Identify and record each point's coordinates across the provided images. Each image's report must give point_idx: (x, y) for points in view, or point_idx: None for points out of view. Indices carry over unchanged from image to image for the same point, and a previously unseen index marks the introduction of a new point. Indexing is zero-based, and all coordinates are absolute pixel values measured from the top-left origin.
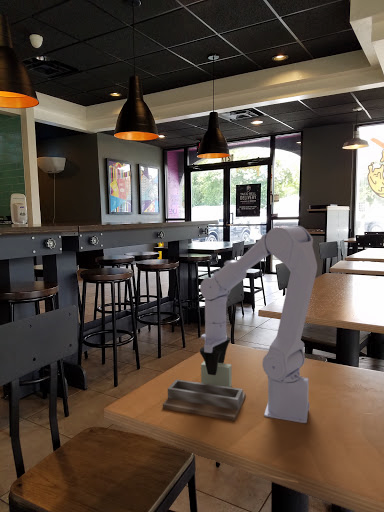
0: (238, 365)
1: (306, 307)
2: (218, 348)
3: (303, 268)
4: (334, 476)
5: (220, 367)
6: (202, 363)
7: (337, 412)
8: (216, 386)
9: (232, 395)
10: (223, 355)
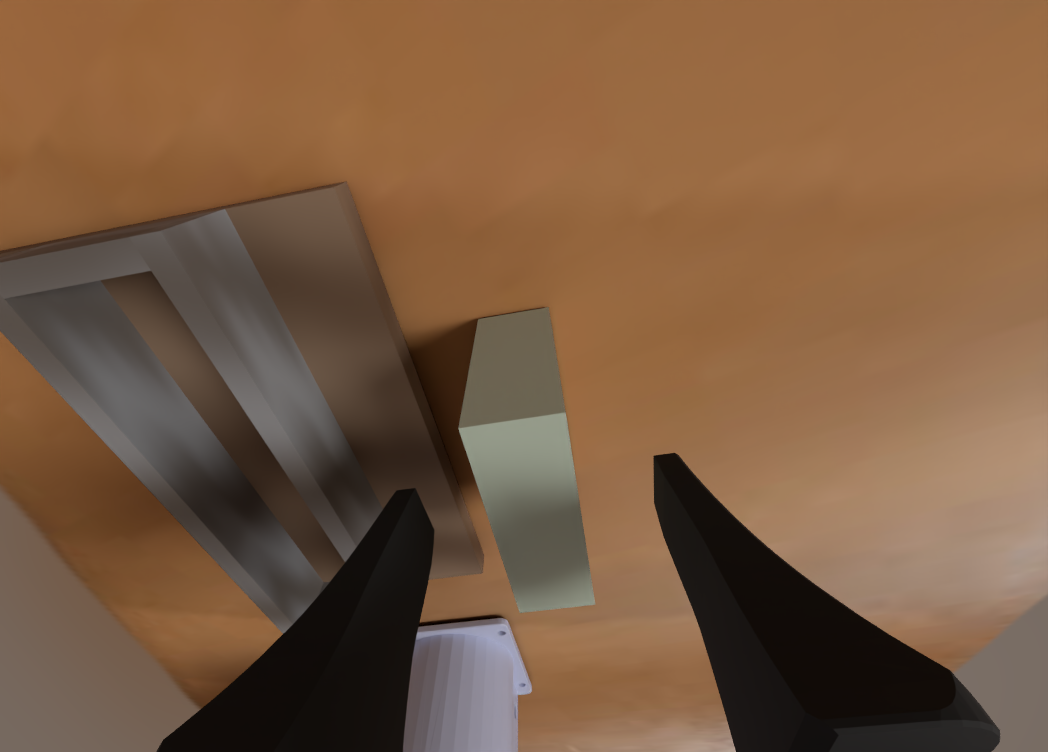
0: (913, 399)
1: None
2: (722, 627)
3: None
4: None
5: (506, 563)
6: (488, 431)
7: (540, 720)
8: (337, 542)
9: None
10: (684, 583)
